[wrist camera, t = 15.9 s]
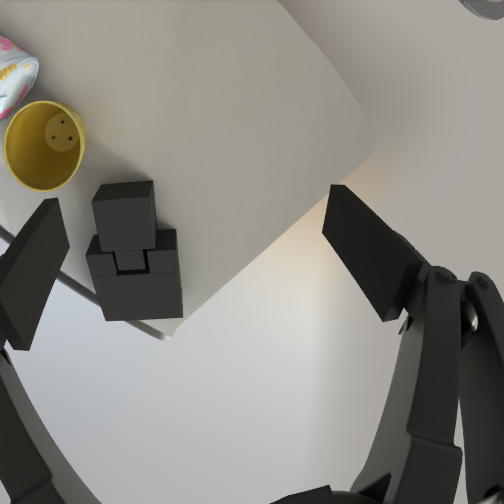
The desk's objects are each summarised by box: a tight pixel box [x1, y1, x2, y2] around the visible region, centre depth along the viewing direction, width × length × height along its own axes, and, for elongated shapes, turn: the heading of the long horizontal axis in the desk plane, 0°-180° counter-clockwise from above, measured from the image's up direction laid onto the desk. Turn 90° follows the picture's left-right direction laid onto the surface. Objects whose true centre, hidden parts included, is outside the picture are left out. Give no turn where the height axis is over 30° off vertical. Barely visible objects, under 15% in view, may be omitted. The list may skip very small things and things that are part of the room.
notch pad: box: [86, 230, 183, 321], centre depth 42 cm, size 12×12×5 cm
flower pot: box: [4, 100, 86, 192], centre depth 28 cm, size 10×10×7 cm
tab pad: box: [92, 181, 157, 270], centre depth 37 cm, size 7×10×5 cm
